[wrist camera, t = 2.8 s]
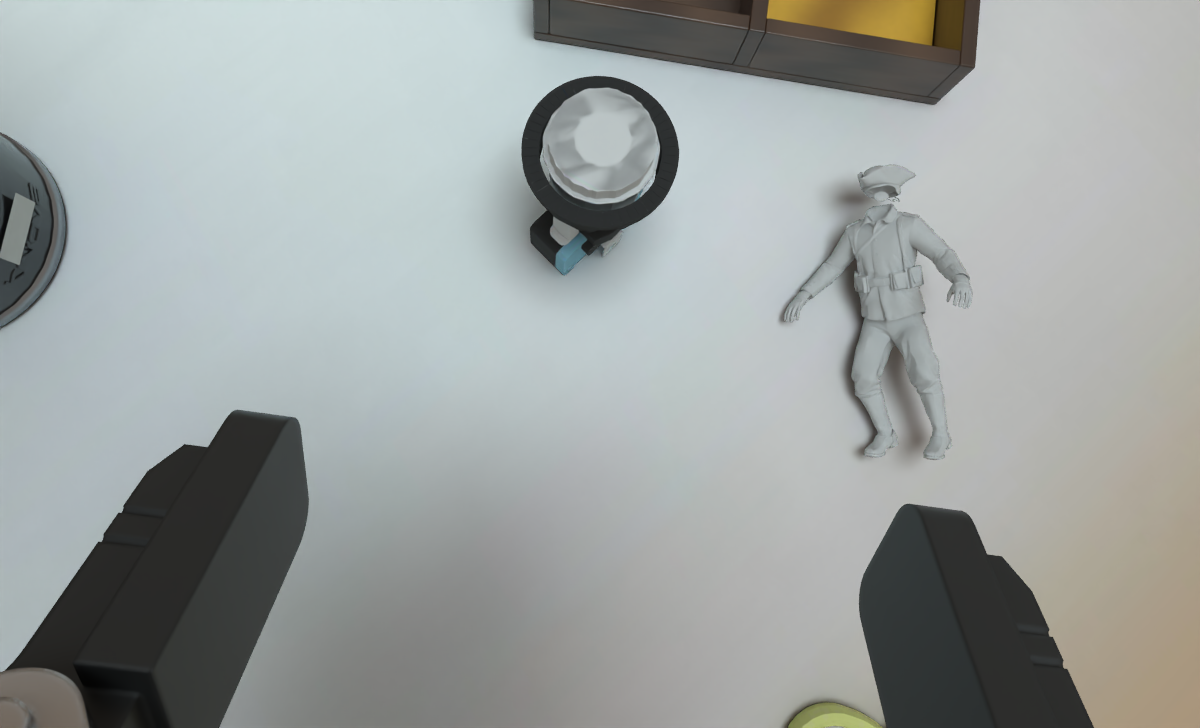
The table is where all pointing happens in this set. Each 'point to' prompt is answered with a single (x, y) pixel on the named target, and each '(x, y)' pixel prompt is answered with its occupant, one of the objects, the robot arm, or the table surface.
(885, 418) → the soldier figure
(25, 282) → the robot arm
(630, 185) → the push button
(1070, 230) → the table surface
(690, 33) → the grid
